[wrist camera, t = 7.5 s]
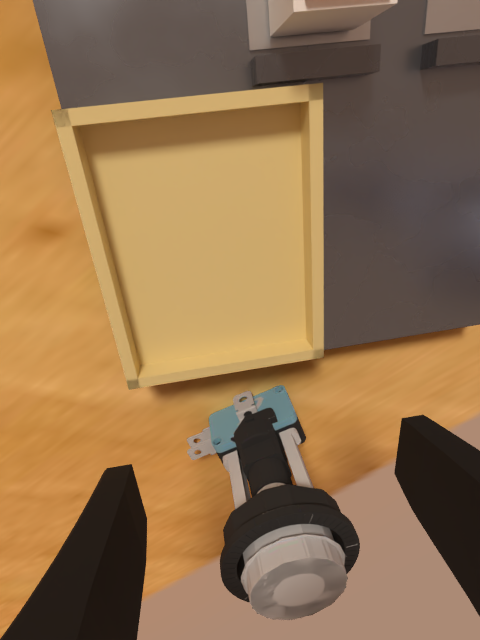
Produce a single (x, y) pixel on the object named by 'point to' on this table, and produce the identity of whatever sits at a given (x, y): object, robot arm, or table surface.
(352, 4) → the breaker
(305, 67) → the breaker panel
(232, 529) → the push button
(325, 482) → the table surface
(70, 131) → the tray
